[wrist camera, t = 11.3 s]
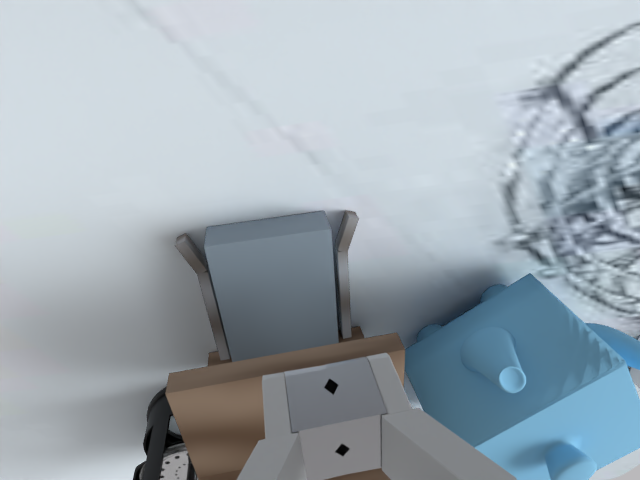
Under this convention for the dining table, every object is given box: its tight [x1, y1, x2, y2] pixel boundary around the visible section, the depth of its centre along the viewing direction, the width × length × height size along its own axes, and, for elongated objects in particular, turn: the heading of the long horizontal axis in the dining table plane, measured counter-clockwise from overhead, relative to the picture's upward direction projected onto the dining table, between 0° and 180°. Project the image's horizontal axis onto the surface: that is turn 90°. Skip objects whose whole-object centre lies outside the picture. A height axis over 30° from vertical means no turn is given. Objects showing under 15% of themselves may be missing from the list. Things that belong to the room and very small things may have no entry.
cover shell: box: [204, 211, 339, 362], centre depth 33 cm, size 12×9×3 cm
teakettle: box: [404, 274, 640, 480], centre depth 36 cm, size 19×19×15 cm
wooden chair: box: [165, 211, 405, 480], centre depth 28 cm, size 14×14×18 cm
